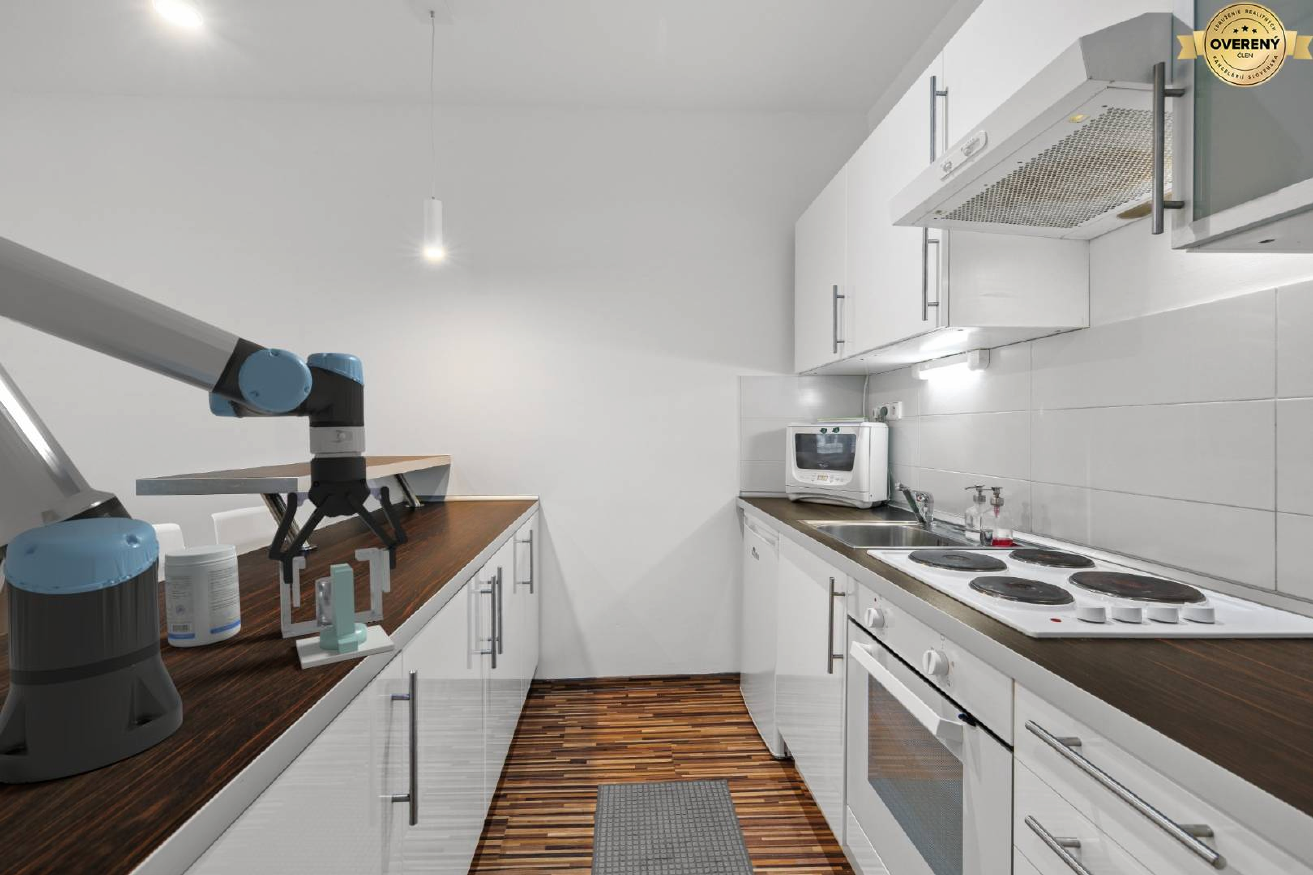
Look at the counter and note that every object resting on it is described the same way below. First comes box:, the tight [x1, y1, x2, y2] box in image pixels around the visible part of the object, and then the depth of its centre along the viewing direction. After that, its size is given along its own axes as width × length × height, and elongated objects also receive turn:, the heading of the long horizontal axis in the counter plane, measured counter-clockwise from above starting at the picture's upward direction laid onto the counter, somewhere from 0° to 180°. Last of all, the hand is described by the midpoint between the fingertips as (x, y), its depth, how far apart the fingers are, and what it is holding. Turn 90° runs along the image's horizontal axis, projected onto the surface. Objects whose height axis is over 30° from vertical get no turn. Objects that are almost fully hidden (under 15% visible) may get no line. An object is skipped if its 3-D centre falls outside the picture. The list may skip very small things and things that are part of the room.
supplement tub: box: [163, 544, 242, 648], centre depth 98 cm, size 10×10×15 cm
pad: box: [295, 624, 395, 670], centre depth 92 cm, size 12×12×1 cm
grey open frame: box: [278, 546, 384, 639], centre depth 103 cm, size 15×5×12 cm, turn 125°
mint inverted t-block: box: [319, 562, 368, 654], centre depth 92 cm, size 11×6×12 cm, turn 35°
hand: (342, 597), depth 92 cm, fingers open, 11 cm apart
